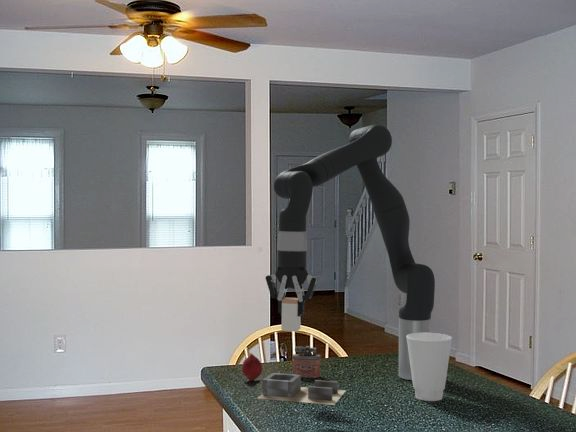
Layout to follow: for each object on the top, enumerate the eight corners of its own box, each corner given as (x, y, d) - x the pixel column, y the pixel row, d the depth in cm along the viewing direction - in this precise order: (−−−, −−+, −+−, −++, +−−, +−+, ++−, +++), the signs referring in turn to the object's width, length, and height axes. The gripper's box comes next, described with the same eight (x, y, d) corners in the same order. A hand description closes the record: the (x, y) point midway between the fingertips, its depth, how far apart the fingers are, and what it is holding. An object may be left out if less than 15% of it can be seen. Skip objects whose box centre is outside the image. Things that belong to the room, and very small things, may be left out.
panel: (346, 396, 186) (346, 375, 186) (334, 410, 173) (334, 388, 173) (273, 390, 192) (273, 370, 192) (256, 404, 178) (256, 382, 178)
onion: (265, 379, 204) (265, 351, 204) (257, 384, 198) (257, 355, 198) (246, 377, 206) (246, 350, 206) (238, 382, 200) (238, 354, 200)
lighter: (320, 380, 203) (320, 345, 203) (320, 383, 200) (320, 348, 199) (292, 379, 204) (292, 345, 204) (291, 382, 200) (291, 347, 200)
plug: (300, 329, 184) (300, 298, 184) (296, 331, 180) (297, 300, 180) (285, 328, 185) (286, 297, 185) (281, 330, 181) (281, 299, 181)
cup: (401, 401, 182) (402, 338, 181) (410, 389, 193) (410, 331, 192) (448, 405, 177) (449, 342, 177) (454, 393, 189) (455, 334, 188)
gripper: (322, 249, 184) (321, 315, 184) (269, 247, 188) (268, 312, 188) (315, 250, 177) (314, 319, 177) (261, 248, 180) (260, 316, 181)
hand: (291, 315), depth 182 cm, fingers closed on plug, 4 cm apart
